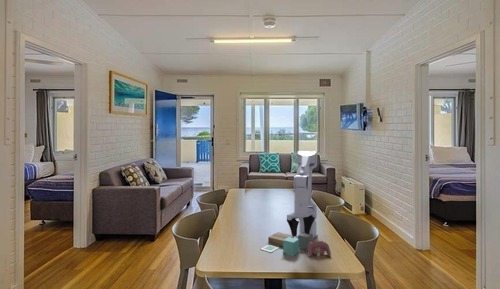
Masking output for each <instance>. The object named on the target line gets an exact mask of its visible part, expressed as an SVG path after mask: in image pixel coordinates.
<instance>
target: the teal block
mask: <svg viewBox="0 0 500 289" xmlns="http://www.w3.org/2000/svg"><path fill="white" fill-rule="evenodd" d="M282 248H283V250H282V254H284V255H285V254H286V255H289V256H292V257H294V256H295V255H297V254H299V249H300V248H299V239H298V238H296V237H294V238H291V237H288V238H286V239H284V240H283V247H282Z"/></svg>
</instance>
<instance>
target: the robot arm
mask: <svg viewBox="0 0 500 289" xmlns="http://www.w3.org/2000/svg"><path fill="white" fill-rule="evenodd" d="M296 163H297V166H298V167H297V169H296V174H295V176H293V183H292V184H293V193H294V202H293V203H294V209H293V210H294V212H293V213H289V214H287V215H286V222H287V224H288V226H289V229H290V233H291V235H292V236H294V238H298V235H299V234H301V233H302V232H305V233H306V234H309V233H310V234H313V239H314V238H316V237H317V236H318V235H319V234H318V233H317V221H316V219H317V215H318V211H317V210H318V209H317V203H316V202H315V201H313V200H312V186H313V185H312V173H313V169H315V168H317V166H318V152H317V151H316V150H314V151H311V150H310V151H307V150H306V151H304V150H302V151H301V150H297V151H296ZM297 219H298V220H297ZM298 228H299V234H298Z"/></svg>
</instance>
